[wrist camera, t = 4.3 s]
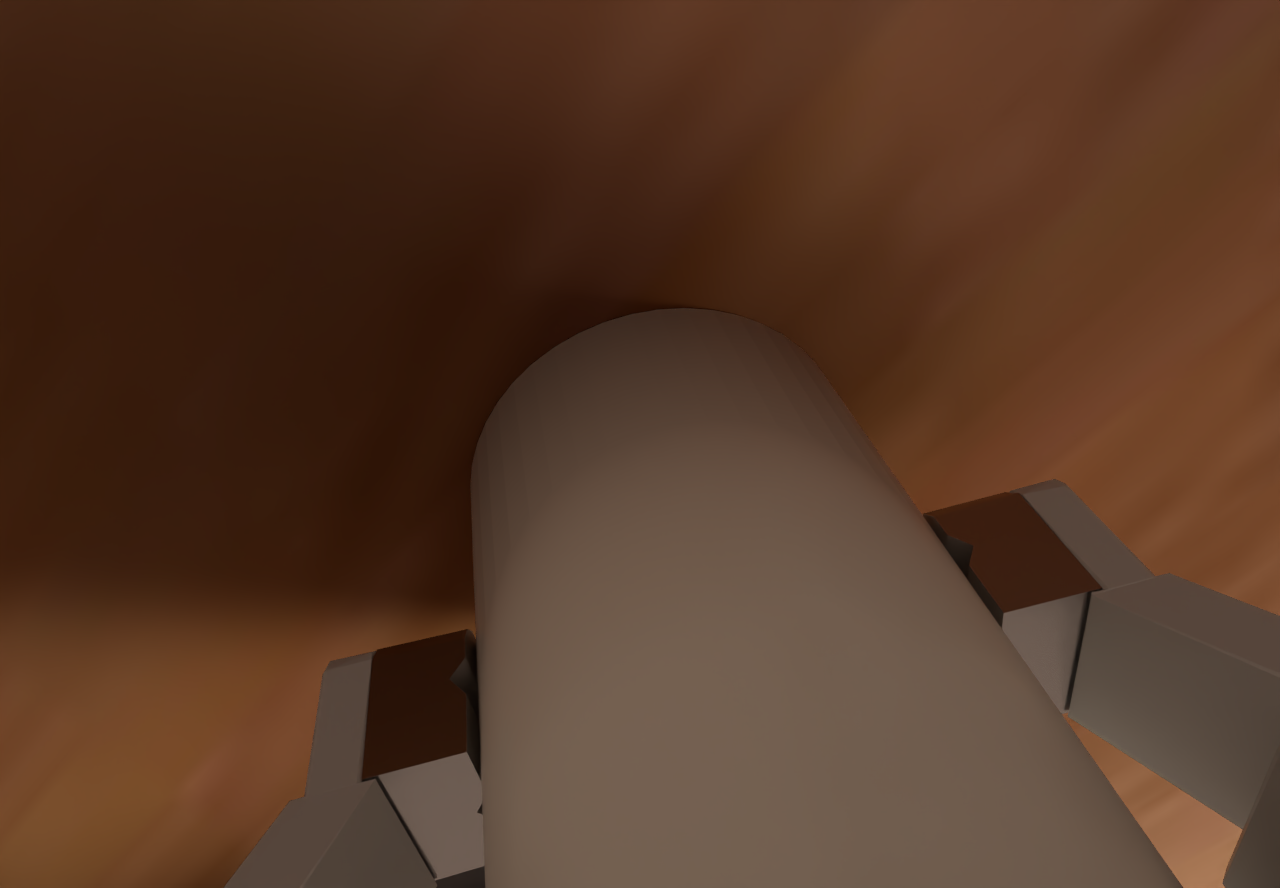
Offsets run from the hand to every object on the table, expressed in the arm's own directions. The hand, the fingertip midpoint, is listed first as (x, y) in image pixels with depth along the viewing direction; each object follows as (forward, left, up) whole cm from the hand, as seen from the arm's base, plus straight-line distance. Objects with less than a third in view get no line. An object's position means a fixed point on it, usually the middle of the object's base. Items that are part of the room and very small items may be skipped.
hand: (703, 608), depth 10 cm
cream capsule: (0, 0, -2) cm, 2 cm away
